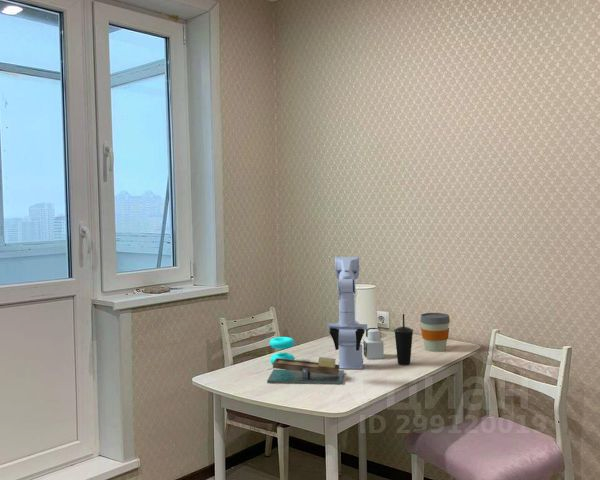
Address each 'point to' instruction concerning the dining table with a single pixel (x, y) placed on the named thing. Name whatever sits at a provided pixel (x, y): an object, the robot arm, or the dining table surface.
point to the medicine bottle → (373, 344)
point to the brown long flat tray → (298, 365)
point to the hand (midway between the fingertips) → (347, 349)
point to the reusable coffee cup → (435, 331)
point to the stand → (304, 377)
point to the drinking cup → (403, 344)
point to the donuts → (281, 347)
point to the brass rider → (326, 362)
